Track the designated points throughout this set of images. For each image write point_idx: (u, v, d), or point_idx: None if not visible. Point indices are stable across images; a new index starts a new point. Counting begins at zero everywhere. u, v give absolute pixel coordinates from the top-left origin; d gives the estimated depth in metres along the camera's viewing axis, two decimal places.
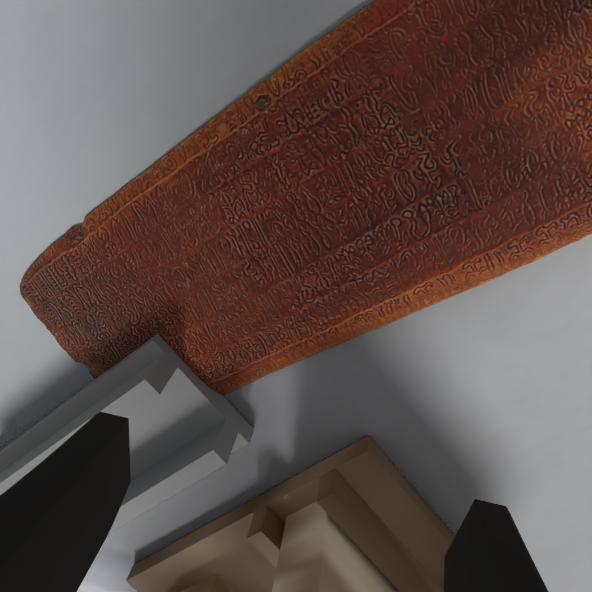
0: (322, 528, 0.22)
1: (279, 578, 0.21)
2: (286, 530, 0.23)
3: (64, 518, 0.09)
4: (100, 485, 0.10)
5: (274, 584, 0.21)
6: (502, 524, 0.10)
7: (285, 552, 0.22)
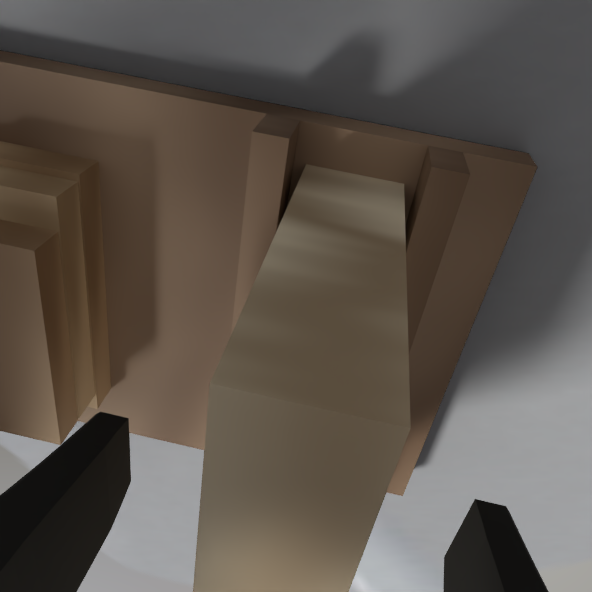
0: (397, 211, 0.11)
1: (296, 223, 0.10)
2: (309, 178, 0.12)
3: (64, 518, 0.09)
4: (100, 485, 0.10)
5: (283, 225, 0.10)
6: (502, 524, 0.10)
7: (307, 200, 0.11)
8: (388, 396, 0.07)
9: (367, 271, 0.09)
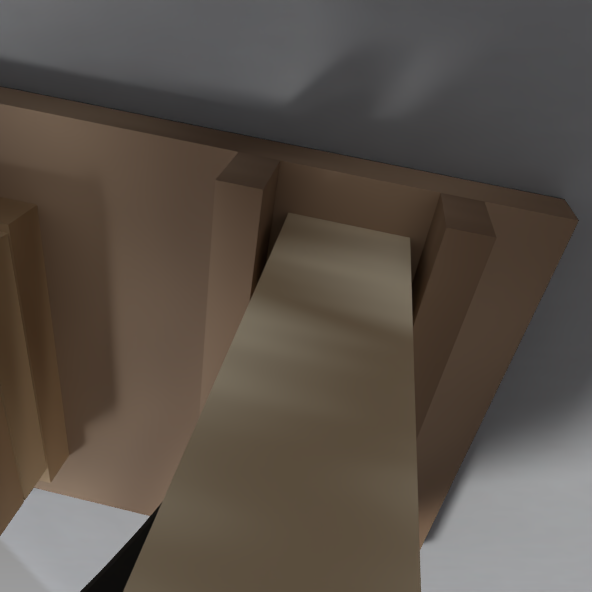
0: (401, 282, 0.09)
1: (268, 308, 0.08)
2: (290, 234, 0.10)
3: None
4: None
5: (250, 312, 0.08)
6: None
7: (286, 269, 0.09)
8: None
9: (360, 390, 0.07)
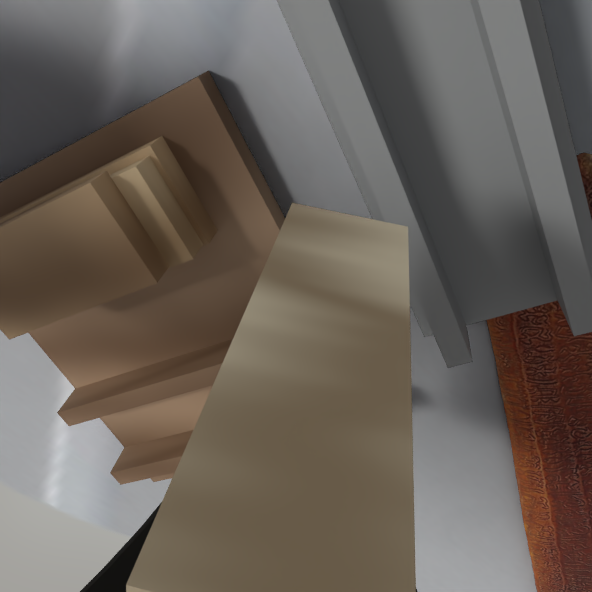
0: (400, 267, 0.09)
1: (274, 291, 0.08)
2: (293, 222, 0.10)
3: None
4: None
5: (257, 294, 0.08)
6: None
7: (291, 255, 0.09)
8: None
9: (360, 364, 0.07)
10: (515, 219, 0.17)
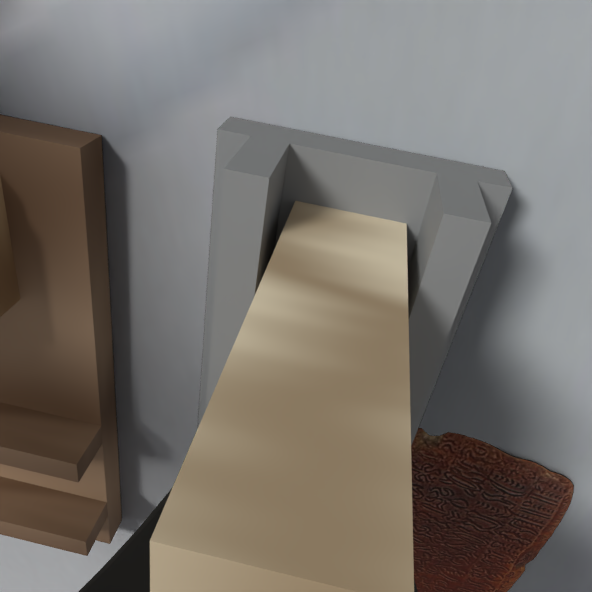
0: (399, 262, 0.10)
1: (279, 282, 0.09)
2: (297, 219, 0.11)
3: None
4: None
5: (263, 285, 0.09)
6: None
7: (295, 249, 0.10)
8: (385, 550, 0.05)
9: (361, 350, 0.08)
10: None
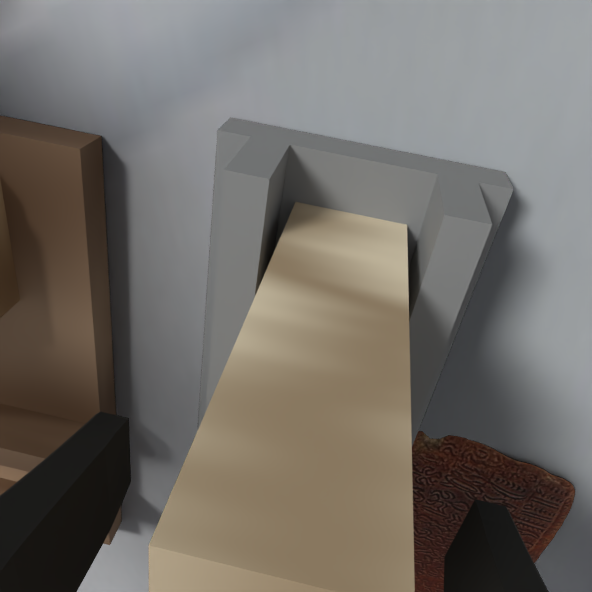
0: (399, 264, 0.10)
1: (279, 284, 0.09)
2: (297, 220, 0.11)
3: (64, 518, 0.09)
4: (100, 485, 0.10)
5: (263, 287, 0.09)
6: (502, 524, 0.10)
7: (295, 250, 0.10)
8: (385, 555, 0.05)
9: (362, 352, 0.08)
10: None
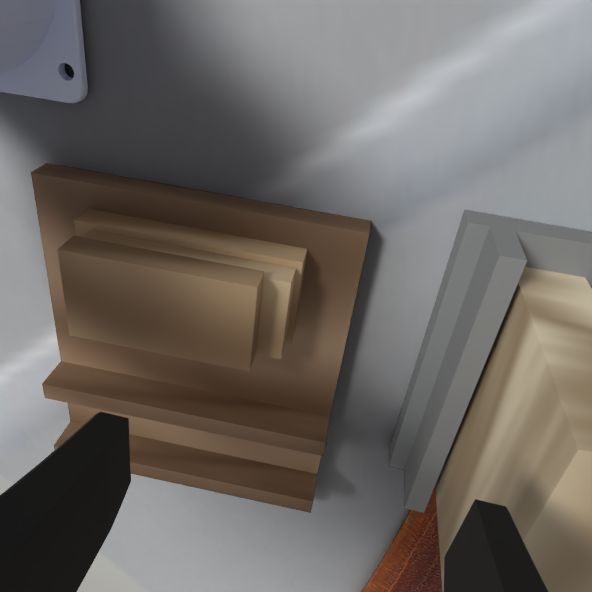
0: None
1: (543, 323, 0.15)
2: (522, 278, 0.17)
3: (64, 518, 0.09)
4: (100, 485, 0.10)
5: (536, 325, 0.15)
6: (502, 524, 0.10)
7: (535, 300, 0.16)
8: None
9: None
10: None
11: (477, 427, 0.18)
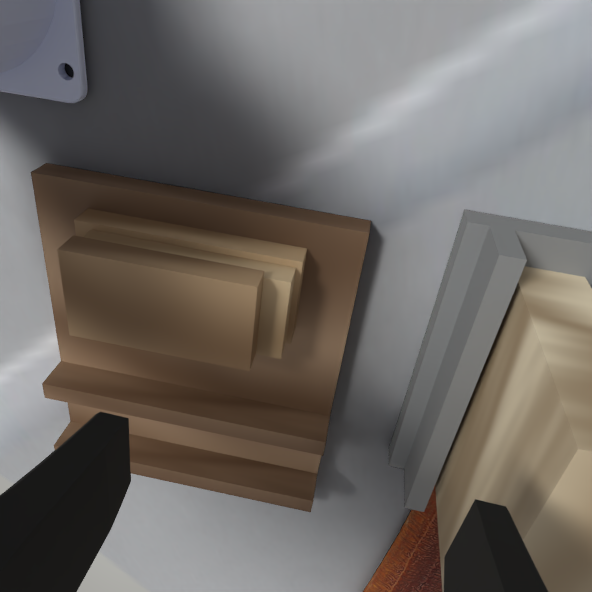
0: None
1: (542, 322, 0.15)
2: (522, 278, 0.17)
3: (64, 518, 0.09)
4: (100, 485, 0.10)
5: (536, 325, 0.15)
6: (502, 524, 0.10)
7: (535, 300, 0.16)
8: None
9: None
10: None
11: (477, 427, 0.18)
